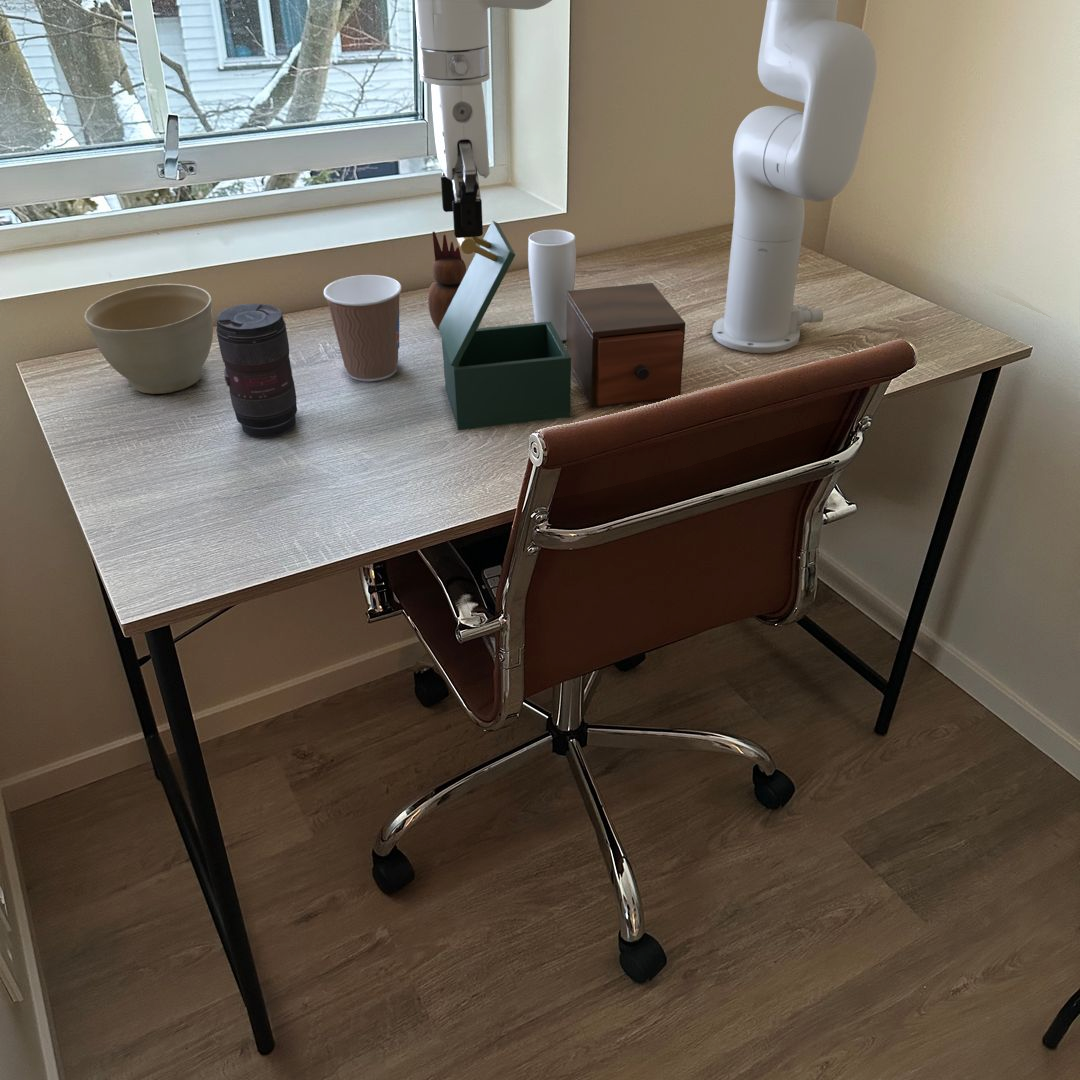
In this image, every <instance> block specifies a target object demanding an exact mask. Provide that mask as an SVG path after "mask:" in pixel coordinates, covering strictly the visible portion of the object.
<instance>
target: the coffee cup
mask: <svg viewBox="0 0 1080 1080" xmlns="http://www.w3.org/2000/svg"><path fill="white" fill-rule="evenodd" d="M402 287H403V286H402V284H401V283H400V282H399V281H398V280H396V279H395V278H393V277H389V276H385V275H378V274H360V275H359V274H358V275H351V276H347V277H342V278H339V279H336V280H334V281H332V282H330V283H328V284H327V285H326V286H325V287H324V289H323V296H324V297H325V299H326V301H327V306H328V309H329V313H330V317H331V320H332V324H333V328H334V332H335V335H336V336H335V337H336V339H337V343H338V346H339V350H340V354H341V358H342V361H343V366H344V368H345V369H346V372H347V375H348V376H349V377H350V378H352V379H353V380H356V381H360V382H377V381H383V380H386V379H387V378H390V377H392V376H394V374H395V373H396V372H397V370H398V363H399V349H400V293H401V292H402Z"/></svg>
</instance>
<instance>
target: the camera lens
mask: <svg viewBox="0 0 1080 1080" xmlns="http://www.w3.org/2000/svg"><path fill="white" fill-rule="evenodd" d="M215 320H216V330H215V331H216V336H217V337H216V338H217V341H218V346H219V351H220V355H221V358H222V362H223V364H224V371H223V374H224V381H225V383H226V386H228V387H229V388H228V389H229V390H228V391H229V396H230V402H231V407H232V408H233V411H234V414H235V418H236V421H237V422H238V423H239V424H240V425H241V428H242V432H243V433H244V434H245V435H246V436H249V437H251V438H259V439H269V438H275V437H279V436H282V435H284V434H286V433H288V432H290V431H291V430H292V429H293V428H294V427H295V426H296V422H297V419H296V414H297V411H298V405H297V393H296V386H295V381H294V378H293V371H292V365H291V360H290V343H289V337H288V330H287V325H286V322H285V319H284V316H283V312H282V311H281V310H280V309H279V308H277V307H276V306H273V305H270V304H265V303H245V304H238V305H234V306H231V307H228V308H226V309H224V310H222V311H221V312H219V313H218V314H217V316H216V319H215Z"/></svg>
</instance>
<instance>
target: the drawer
mask: <svg viewBox="0 0 1080 1080" xmlns="http://www.w3.org/2000/svg"><path fill="white" fill-rule="evenodd" d="M683 335H684V334H683V332H682V331H681V330H676V331H672V330H664V331H654V332H645V333H635V334H625V335H616V336H606V337H598V339H597V381H596V402H597V404H598V406H600V405H608V404H617V403H626V402H635V401H643V400H652V399H661V398H669V397H675V396H678V395H679V391H680V377H681V363H682V349H683Z"/></svg>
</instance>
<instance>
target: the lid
mask: <svg viewBox="0 0 1080 1080" xmlns="http://www.w3.org/2000/svg"><path fill="white" fill-rule="evenodd" d="M455 238H456V237H455ZM456 241H457V243H458V245H459V248H460V250H461V251H462V252H463V253H464V254H466V255H471V254H473V253H475V254H474V255H473V258H472V260H471V262H470V264H469V266H468V268H467V269H466V274H465V276H464V278H463V280H462V282H461V284H460V286H459V288H458V290H457V292H456V294H455V296H454V298H453V300H452V302H451V304H450V306H449V308H448V310H447V312H446V314H445V316H444V318H443V320H442V322H441V324H440V326H439V330H438V331H439V334H440V337H441V341H442V340H443V343H444V346H445V349H446V352H447V355H448V358H449V361H450V364H451V366H454V367H457V366H458V364H459V362H460V360H461V358H462V356H463V354H464V352H465V350H466V349H467V347H468V345H469V343H470V341H471V339H472V337H473V335H474V333H475V331H476V329H479V328H478V327H479V325H480V324H481V322H482V320H483V318H484V317H485V315H486V312H487V311H488V309H489V306H490V304H491V303H492V301H493V299H494V297H495V295H496V294H497V291H498V289H499V287H500V286H501V283H502V281H503V280H504V278H505V276H506V274H507V272H508V270H509V268H510V266H511V265H512V262H513V261H514V259H515V257H516V253H515V251H514V249H513V247H512V246H511V244H510V242H509V241H508V239H507V237H506V235H505V233H504V231H503V230H502V228H501V227H500V225H499V223H498V222H497V221H495V220H492V221H491V222H490V225H489V227H488V229H487V231H486V233H485V235H484V236H483V238H482V237H481V236H478V237H465V238H456Z"/></svg>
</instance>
